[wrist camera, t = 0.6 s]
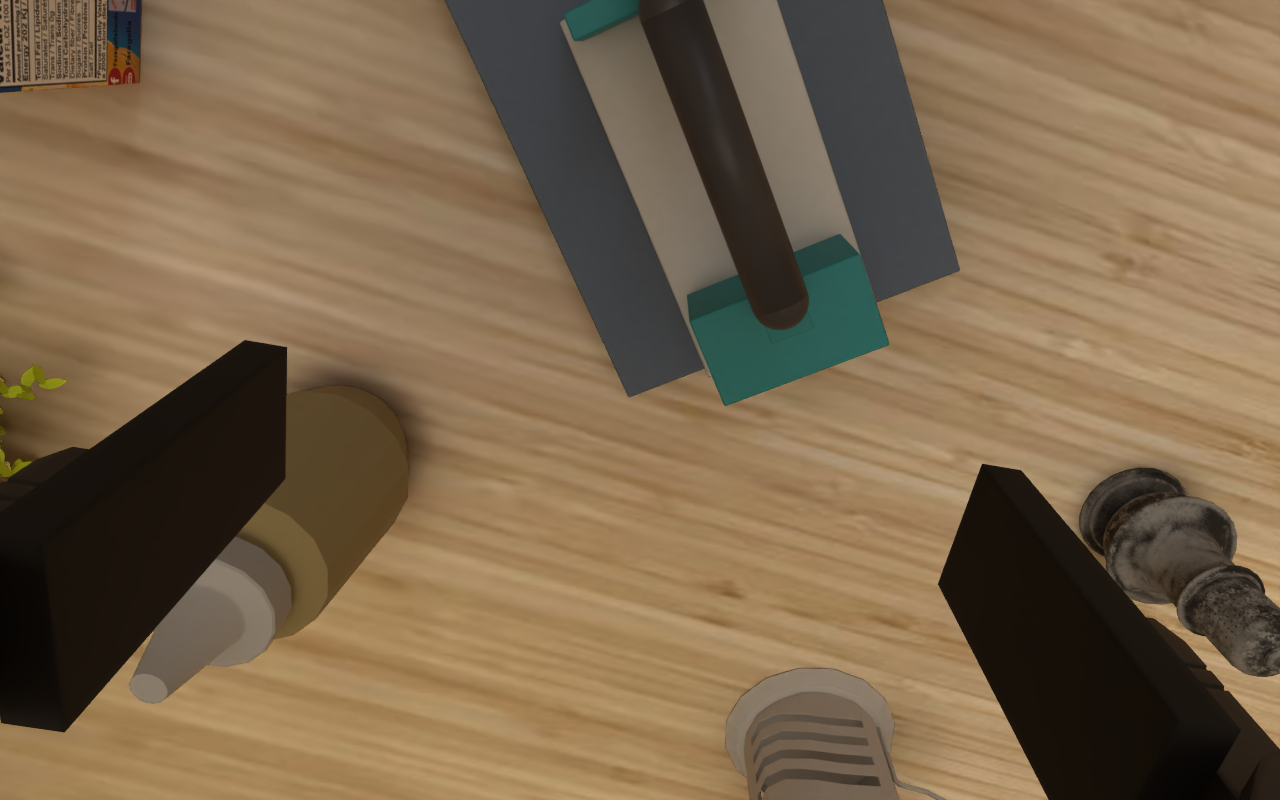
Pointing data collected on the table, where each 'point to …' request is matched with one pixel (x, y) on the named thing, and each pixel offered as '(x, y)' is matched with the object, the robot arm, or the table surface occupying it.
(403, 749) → the table surface
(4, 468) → the potted plant
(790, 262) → the iron
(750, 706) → the french press
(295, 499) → the squeeze bottle
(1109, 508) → the salt shaker
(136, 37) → the beverage box
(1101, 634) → the robot arm
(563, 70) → the ironing mat
